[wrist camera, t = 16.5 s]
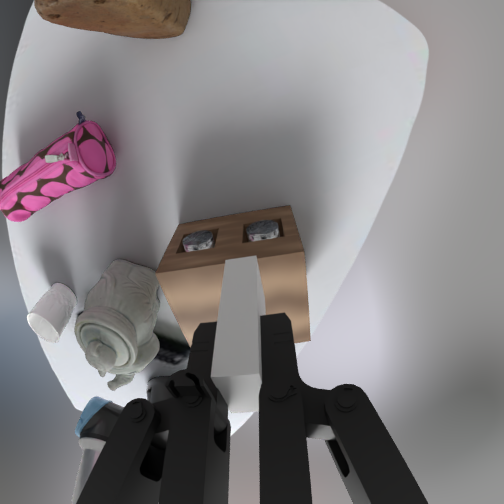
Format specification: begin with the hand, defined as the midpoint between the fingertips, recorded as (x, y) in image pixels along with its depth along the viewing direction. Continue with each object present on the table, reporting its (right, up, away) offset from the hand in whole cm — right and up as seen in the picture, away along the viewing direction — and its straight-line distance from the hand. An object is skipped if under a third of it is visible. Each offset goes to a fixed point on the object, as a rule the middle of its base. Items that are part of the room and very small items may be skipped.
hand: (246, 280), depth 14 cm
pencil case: (-29, +15, +20) cm, 38 cm away
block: (-12, +31, +10) cm, 35 cm away
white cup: (-38, -7, +34) cm, 52 cm away
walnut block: (-1, +1, +28) cm, 28 cm away
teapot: (-20, -6, +33) cm, 39 cm away
